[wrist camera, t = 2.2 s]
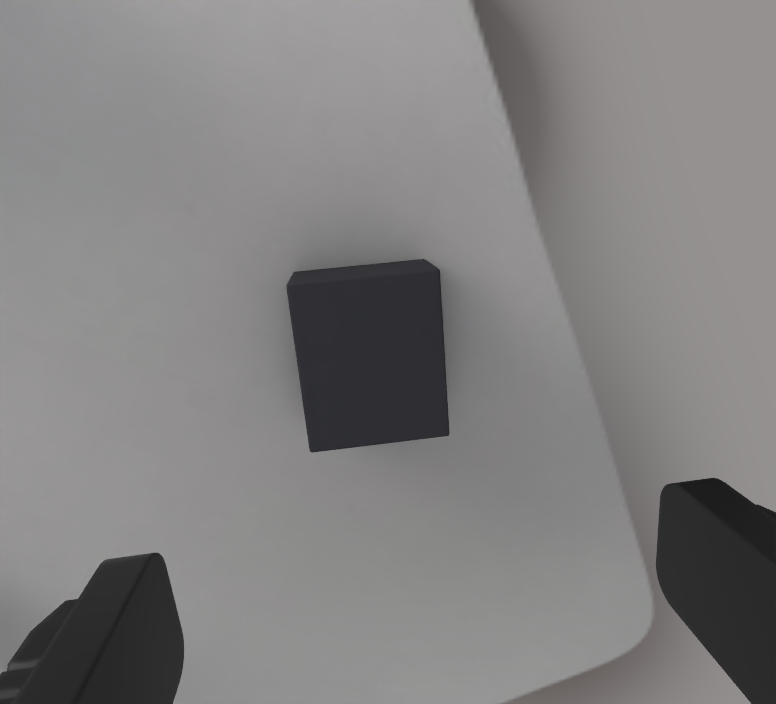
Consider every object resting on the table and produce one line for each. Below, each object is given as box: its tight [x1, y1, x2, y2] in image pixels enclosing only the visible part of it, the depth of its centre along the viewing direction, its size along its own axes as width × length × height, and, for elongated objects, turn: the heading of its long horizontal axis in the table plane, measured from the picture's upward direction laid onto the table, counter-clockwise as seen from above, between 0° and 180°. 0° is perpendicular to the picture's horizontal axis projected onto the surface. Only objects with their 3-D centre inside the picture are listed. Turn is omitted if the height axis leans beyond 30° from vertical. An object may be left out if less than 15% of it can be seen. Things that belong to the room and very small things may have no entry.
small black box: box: [286, 259, 449, 452], centre depth 19 cm, size 5×6×3 cm
